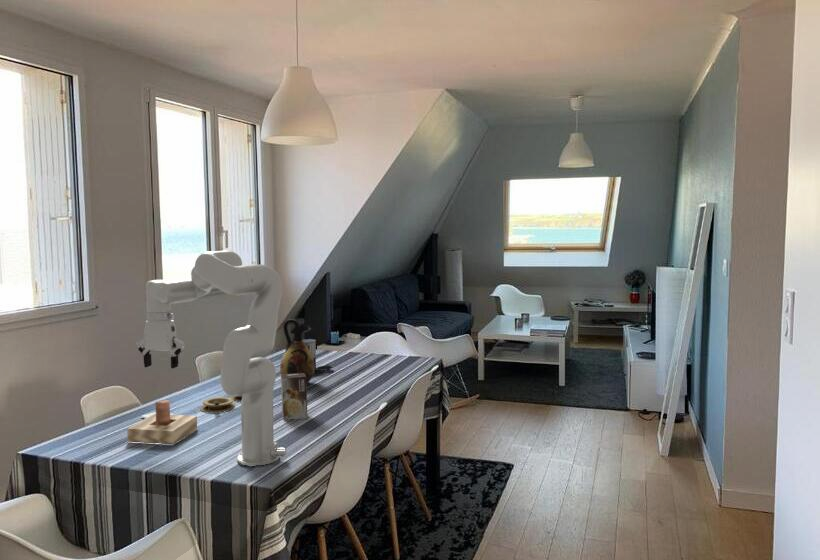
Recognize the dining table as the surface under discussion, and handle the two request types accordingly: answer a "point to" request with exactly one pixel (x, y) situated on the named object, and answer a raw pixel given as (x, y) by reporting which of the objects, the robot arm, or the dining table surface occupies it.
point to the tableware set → (219, 404)
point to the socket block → (162, 430)
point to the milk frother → (314, 352)
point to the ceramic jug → (297, 352)
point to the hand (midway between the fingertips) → (161, 366)
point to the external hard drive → (151, 415)
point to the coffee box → (294, 396)
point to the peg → (162, 412)
